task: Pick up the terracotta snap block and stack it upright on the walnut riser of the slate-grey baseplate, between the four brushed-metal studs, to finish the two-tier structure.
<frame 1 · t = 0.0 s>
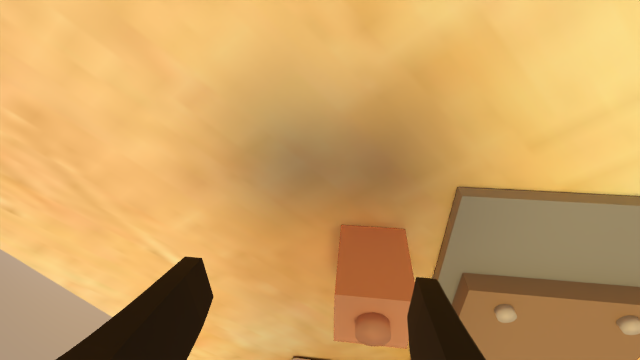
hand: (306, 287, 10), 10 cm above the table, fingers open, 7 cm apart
snap block: (370, 249, 23), on the table
build base: (526, 316, 24), on the table
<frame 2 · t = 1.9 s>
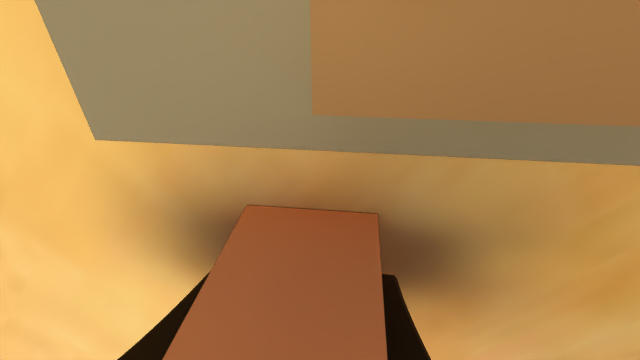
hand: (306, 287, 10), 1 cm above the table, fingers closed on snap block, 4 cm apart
snap block: (312, 256, 11), on the table, touching gripper
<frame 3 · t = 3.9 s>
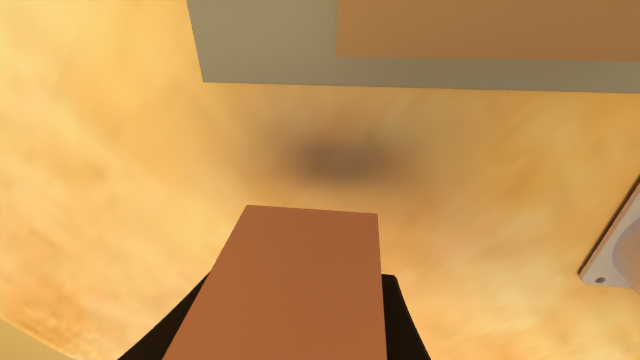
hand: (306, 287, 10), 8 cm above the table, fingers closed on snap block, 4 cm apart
snap block: (311, 256, 11), point 7 cm above the table, touching gripper
when the fingers open (5 cm above the table, at t = 6.1 s): snap block drops 1 cm, resting on build base.
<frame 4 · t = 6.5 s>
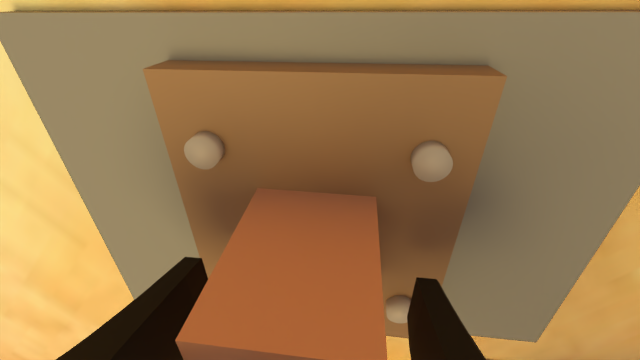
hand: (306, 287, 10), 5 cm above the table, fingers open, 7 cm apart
snap block: (315, 237, 12), point 2 cm above the table, touching build base
build base: (322, 200, 15), on the table
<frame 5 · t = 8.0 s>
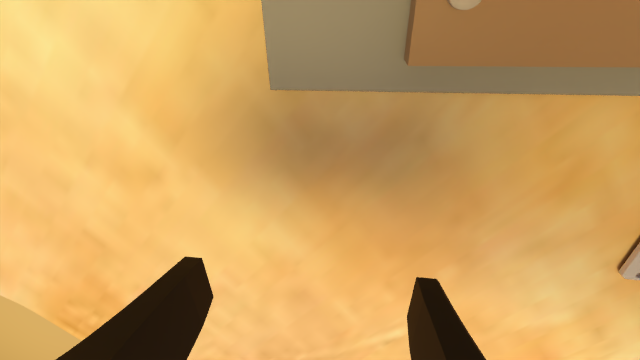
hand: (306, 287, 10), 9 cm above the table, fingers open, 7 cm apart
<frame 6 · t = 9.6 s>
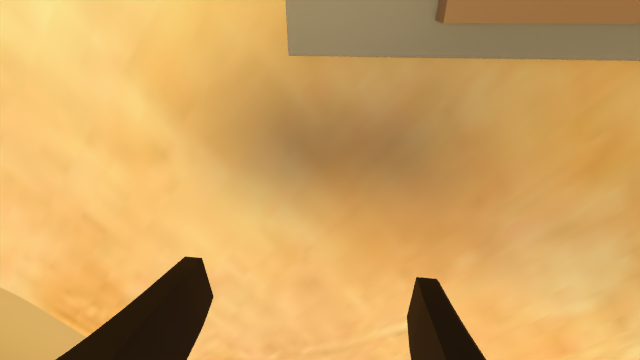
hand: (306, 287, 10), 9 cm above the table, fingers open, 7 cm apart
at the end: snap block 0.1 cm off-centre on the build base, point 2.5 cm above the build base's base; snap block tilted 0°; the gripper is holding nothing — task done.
